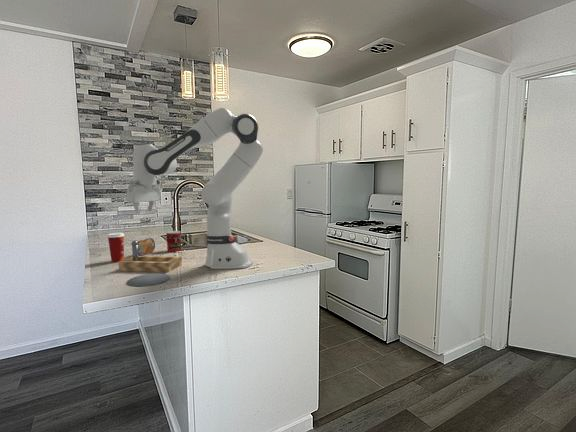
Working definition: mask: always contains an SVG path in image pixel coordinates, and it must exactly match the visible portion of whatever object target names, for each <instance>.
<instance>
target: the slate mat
mask: <svg viewBox="0 0 576 432" xmlns="http://www.w3.org/2000/svg"><path fill="white" fill-rule="evenodd" d="M170 279H171V275H170V274H167V273H158V272H157V273H147V274H141V275H138V276H133V277H132V278H129V279H128V280H127V281H126V284H127V285H128V286H130V287H150V286H156V285H160V284H163V283H166V282H168V281H169V280H170Z"/></svg>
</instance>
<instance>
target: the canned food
mask: <svg viewBox="0 0 576 432" xmlns="http://www.w3.org/2000/svg"><path fill="white" fill-rule="evenodd" d="M166 248H167V252H170V253H175V251H177V252H180V250H181V251H182V236H181V230H171V231H166Z"/></svg>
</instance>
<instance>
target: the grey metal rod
mask: <svg viewBox="0 0 576 432" xmlns="http://www.w3.org/2000/svg"><path fill="white" fill-rule="evenodd" d="M137 241H138V240H132V242H131V244H130V245H131V251H132V257H133V261H139V256H138V242H137Z"/></svg>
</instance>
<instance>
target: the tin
mask: <svg viewBox="0 0 576 432" xmlns="http://www.w3.org/2000/svg"><path fill="white" fill-rule="evenodd" d="M136 241H137V242H138V256H148V255H150V254H153V252H154V251H155V248H156V243H155V240H154V239H153V238H151V237H148V238H144V239H140V240H136Z"/></svg>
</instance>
